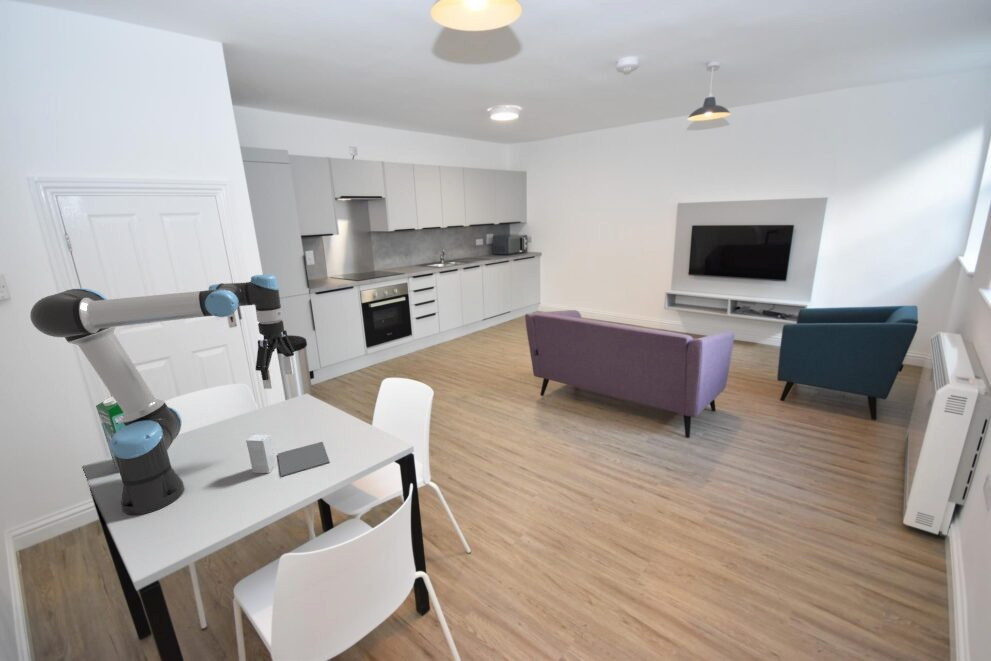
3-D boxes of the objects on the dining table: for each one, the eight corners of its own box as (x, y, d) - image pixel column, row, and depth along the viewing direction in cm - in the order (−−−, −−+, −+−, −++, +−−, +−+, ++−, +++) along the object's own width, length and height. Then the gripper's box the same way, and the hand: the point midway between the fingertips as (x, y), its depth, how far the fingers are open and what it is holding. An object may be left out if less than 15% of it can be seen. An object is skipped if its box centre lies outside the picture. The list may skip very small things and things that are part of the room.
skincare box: (277, 466, 147) (270, 434, 143) (269, 473, 143) (263, 440, 139) (260, 465, 147) (253, 434, 144) (252, 473, 143) (245, 440, 140)
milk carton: (113, 464, 152) (93, 399, 145) (143, 452, 159) (125, 389, 153) (126, 470, 148) (106, 403, 141) (156, 457, 155) (138, 393, 149)
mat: (281, 477, 140) (281, 475, 140) (278, 454, 154) (277, 453, 154) (329, 463, 147) (329, 461, 147) (322, 442, 161) (322, 441, 161)
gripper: (260, 330, 133) (270, 395, 138) (299, 313, 157) (306, 368, 162) (236, 330, 133) (247, 394, 138) (279, 313, 157) (287, 368, 162)
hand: (279, 380), depth 150 cm, fingers open, 13 cm apart
